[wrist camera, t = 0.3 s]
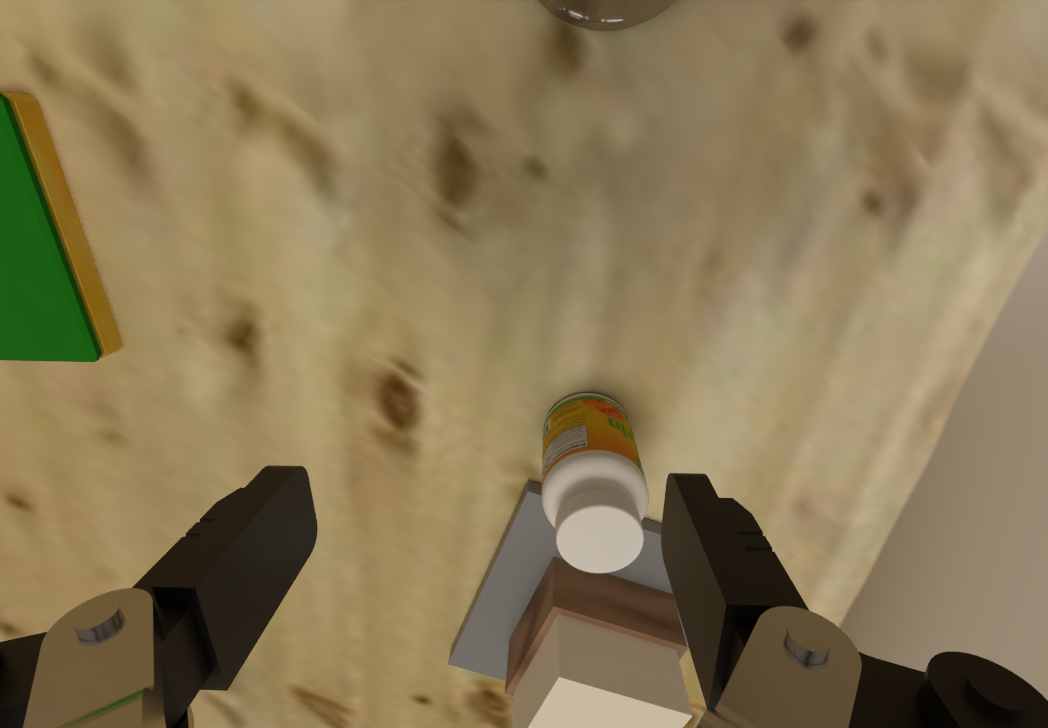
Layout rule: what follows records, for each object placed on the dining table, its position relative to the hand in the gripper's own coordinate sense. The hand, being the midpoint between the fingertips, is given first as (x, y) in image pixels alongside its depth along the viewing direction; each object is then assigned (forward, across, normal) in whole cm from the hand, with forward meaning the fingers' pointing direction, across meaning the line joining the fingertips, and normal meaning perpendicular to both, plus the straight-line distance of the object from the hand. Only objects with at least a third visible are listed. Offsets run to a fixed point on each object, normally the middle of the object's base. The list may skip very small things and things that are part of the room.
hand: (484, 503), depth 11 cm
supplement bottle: (+19, -4, +8) cm, 21 cm away
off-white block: (+14, -5, +24) cm, 28 cm away
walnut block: (+18, -5, +24) cm, 30 cm away
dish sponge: (+19, +28, -4) cm, 34 cm away
